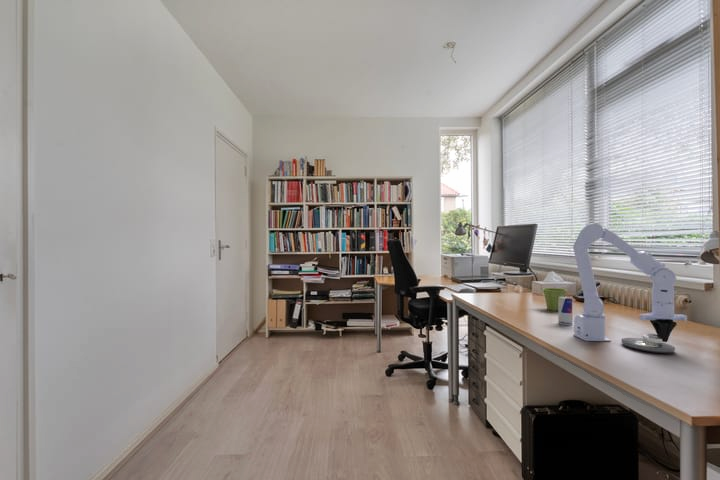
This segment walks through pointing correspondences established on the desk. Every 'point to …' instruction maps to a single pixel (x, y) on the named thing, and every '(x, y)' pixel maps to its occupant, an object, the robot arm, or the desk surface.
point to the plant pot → (553, 297)
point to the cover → (652, 340)
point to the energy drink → (565, 310)
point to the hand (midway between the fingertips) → (662, 341)
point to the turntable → (647, 346)
